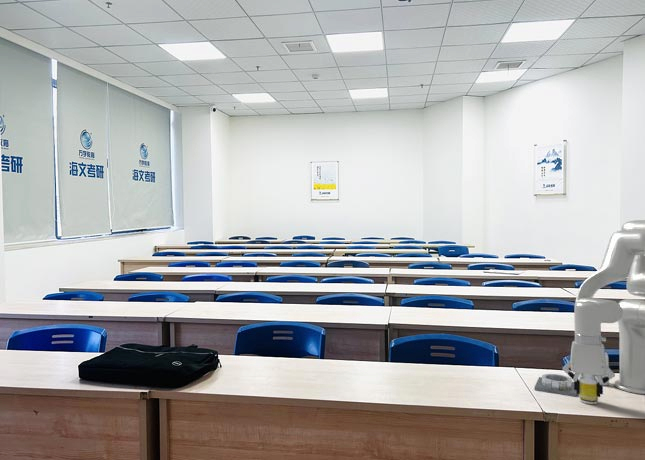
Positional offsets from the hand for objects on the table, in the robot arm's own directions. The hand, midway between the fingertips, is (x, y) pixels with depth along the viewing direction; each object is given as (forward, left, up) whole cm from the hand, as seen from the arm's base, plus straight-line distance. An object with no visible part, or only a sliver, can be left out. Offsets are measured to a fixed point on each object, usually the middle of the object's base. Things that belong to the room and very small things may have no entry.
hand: (588, 393), depth 154 cm
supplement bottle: (0, 0, -3) cm, 3 cm away
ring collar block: (+10, -10, -3) cm, 14 cm away
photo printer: (-1, -24, -3) cm, 24 cm away
